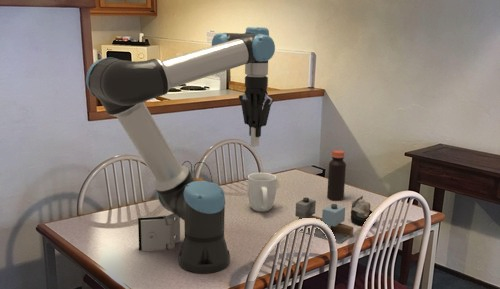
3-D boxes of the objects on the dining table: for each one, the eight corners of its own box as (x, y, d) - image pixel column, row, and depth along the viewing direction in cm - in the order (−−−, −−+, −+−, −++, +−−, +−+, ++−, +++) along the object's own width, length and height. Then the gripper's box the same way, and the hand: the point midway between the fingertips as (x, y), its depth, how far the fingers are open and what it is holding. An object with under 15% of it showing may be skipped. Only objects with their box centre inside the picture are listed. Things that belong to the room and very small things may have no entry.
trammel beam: (346, 239, 166) (348, 213, 164) (294, 223, 179) (296, 199, 176) (356, 233, 172) (357, 207, 170) (305, 218, 184) (306, 194, 182)
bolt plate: (340, 243, 163) (340, 240, 163) (287, 227, 175) (288, 224, 175) (349, 237, 168) (349, 234, 168) (298, 222, 180) (298, 219, 180)
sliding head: (334, 231, 169) (335, 209, 167) (321, 228, 172) (322, 205, 170) (344, 225, 174) (345, 203, 172) (331, 222, 177) (332, 200, 175)
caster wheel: (364, 234, 178) (341, 222, 184) (382, 220, 184) (360, 209, 191) (365, 218, 174) (342, 207, 181) (384, 205, 181) (361, 194, 188)
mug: (279, 217, 184) (281, 183, 181) (250, 218, 183) (251, 184, 180) (272, 203, 199) (273, 172, 196) (245, 204, 197) (245, 172, 194)
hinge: (179, 240, 163) (179, 211, 161) (184, 246, 158) (184, 217, 156) (137, 247, 157) (136, 217, 155) (141, 254, 153) (140, 223, 150)
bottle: (323, 197, 207) (326, 151, 202) (333, 194, 211) (336, 148, 207) (336, 202, 202) (339, 154, 197) (346, 198, 206) (350, 151, 202)
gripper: (279, 76, 161) (276, 147, 167) (247, 73, 169) (246, 141, 175) (265, 78, 156) (263, 151, 161) (233, 74, 163) (232, 144, 169)
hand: (254, 145), depth 168 cm, fingers closed
